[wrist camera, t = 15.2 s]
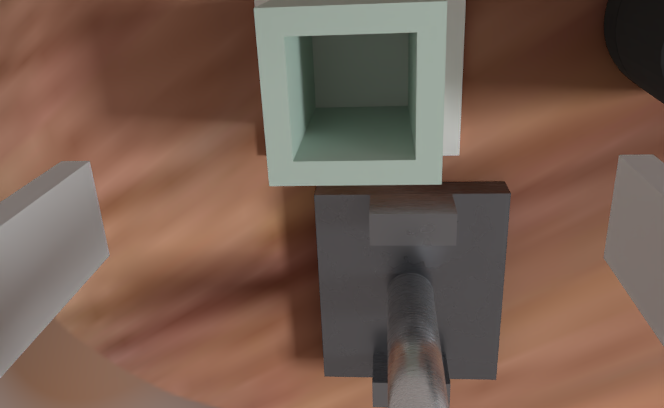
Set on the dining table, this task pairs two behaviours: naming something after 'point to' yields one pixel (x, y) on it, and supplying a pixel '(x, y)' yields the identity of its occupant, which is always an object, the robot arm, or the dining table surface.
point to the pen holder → (637, 41)
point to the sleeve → (350, 122)
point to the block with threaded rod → (412, 285)
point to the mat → (386, 71)
